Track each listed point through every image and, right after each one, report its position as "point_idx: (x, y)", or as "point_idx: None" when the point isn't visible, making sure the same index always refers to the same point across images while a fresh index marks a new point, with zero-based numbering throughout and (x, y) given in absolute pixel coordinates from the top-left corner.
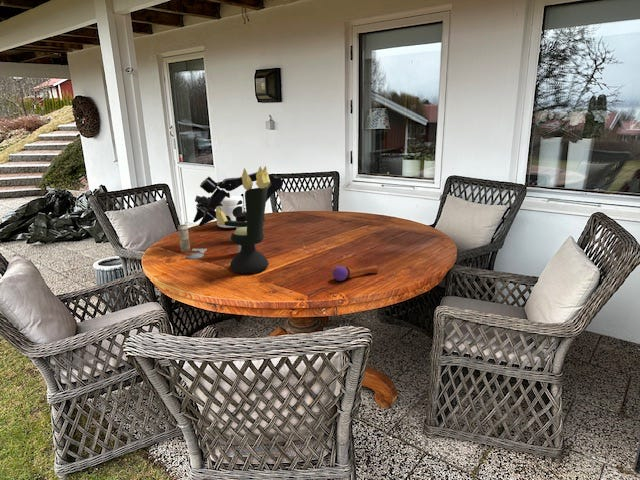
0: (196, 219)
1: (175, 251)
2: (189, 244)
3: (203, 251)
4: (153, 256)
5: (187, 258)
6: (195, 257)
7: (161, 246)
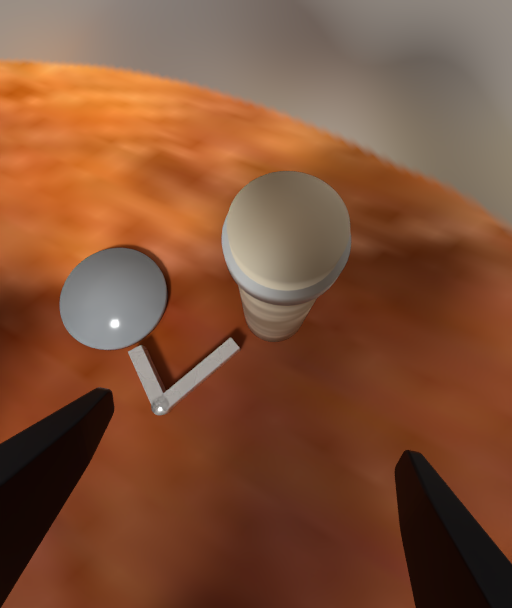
0: (419, 529)
1: None
2: (254, 326)
3: (141, 377)
4: (309, 148)
5: (121, 250)
6: (78, 280)
7: (484, 249)
